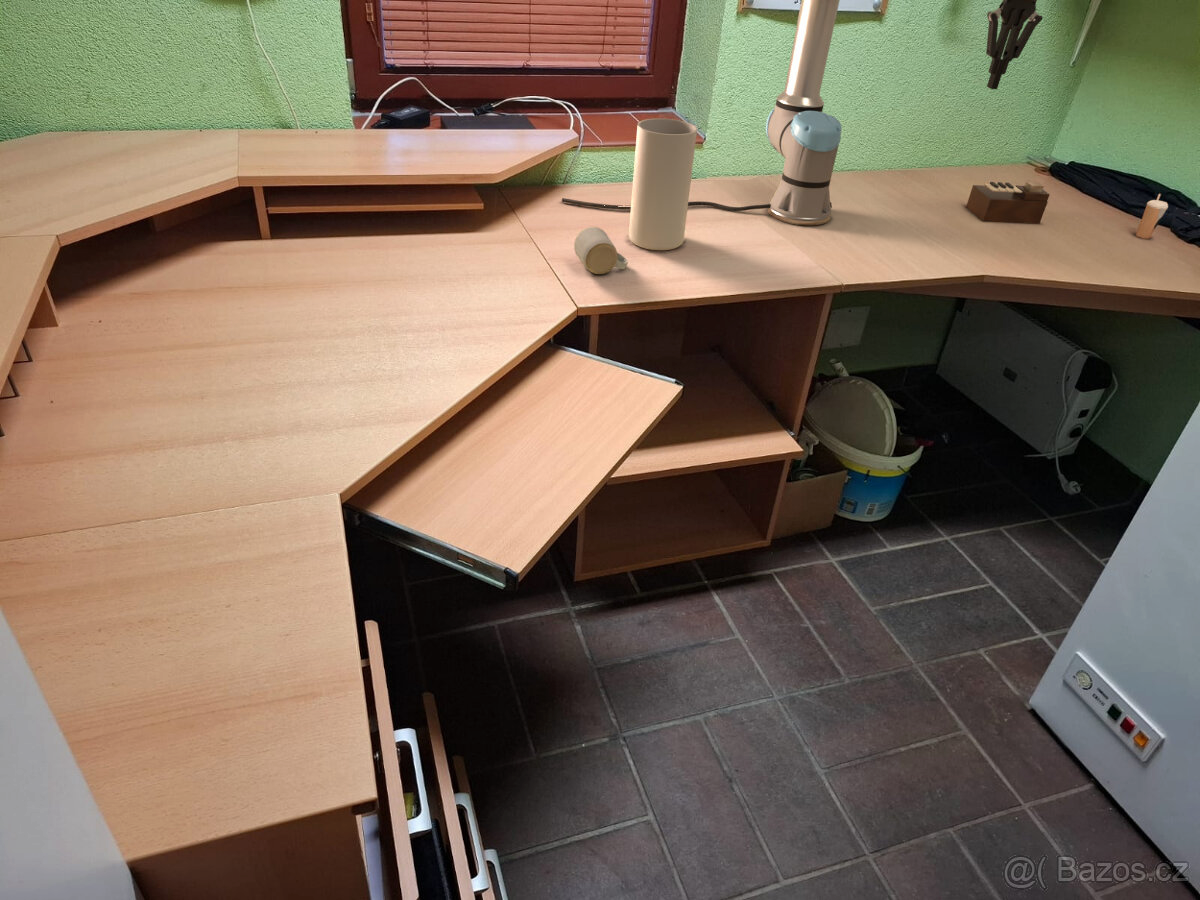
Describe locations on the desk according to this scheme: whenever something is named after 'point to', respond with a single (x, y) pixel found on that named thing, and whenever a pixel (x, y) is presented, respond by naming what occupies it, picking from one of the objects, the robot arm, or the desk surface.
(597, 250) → the ceramic mug
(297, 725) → the desk surface
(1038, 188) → the key
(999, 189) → the keyboard
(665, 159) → the cylinder vase
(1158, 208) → the milkshake
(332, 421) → the desk surface
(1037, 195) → the piano
